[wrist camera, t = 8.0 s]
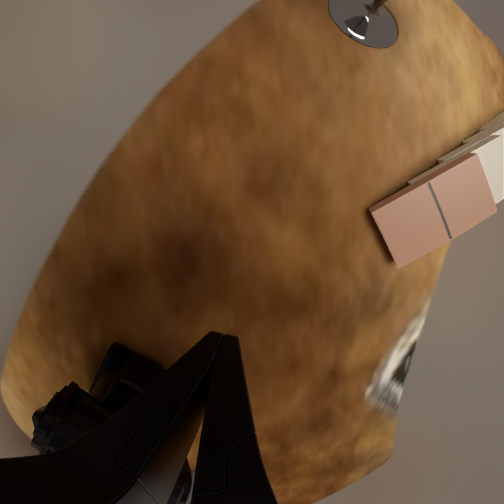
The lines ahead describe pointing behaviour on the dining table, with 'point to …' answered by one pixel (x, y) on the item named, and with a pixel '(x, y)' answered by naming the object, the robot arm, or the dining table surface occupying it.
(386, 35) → the wine glass
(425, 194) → the domino
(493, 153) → the domino
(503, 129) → the domino
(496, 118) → the domino
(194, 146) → the dining table surface
